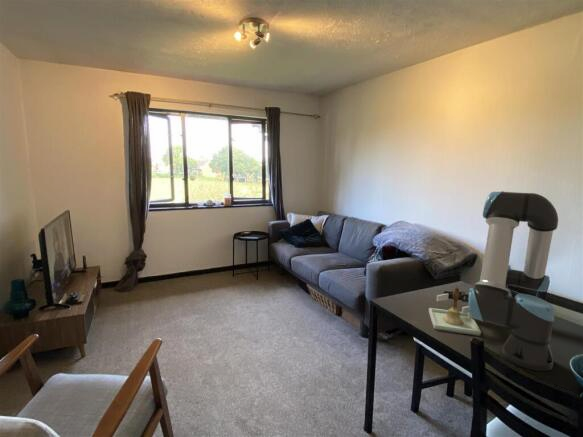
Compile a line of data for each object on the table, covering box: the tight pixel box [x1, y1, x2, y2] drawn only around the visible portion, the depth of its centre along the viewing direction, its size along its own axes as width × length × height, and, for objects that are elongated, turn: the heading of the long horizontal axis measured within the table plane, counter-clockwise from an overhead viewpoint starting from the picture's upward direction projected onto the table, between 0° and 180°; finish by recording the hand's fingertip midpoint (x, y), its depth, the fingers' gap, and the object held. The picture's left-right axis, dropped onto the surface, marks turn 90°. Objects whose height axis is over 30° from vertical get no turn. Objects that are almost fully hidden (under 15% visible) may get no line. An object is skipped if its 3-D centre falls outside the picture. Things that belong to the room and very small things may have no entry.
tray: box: [428, 307, 482, 337], centre depth 145 cm, size 18×18×2 cm
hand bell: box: [443, 287, 463, 325], centre depth 143 cm, size 8×8×16 cm
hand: (449, 304), depth 142 cm, fingers open, 13 cm apart
